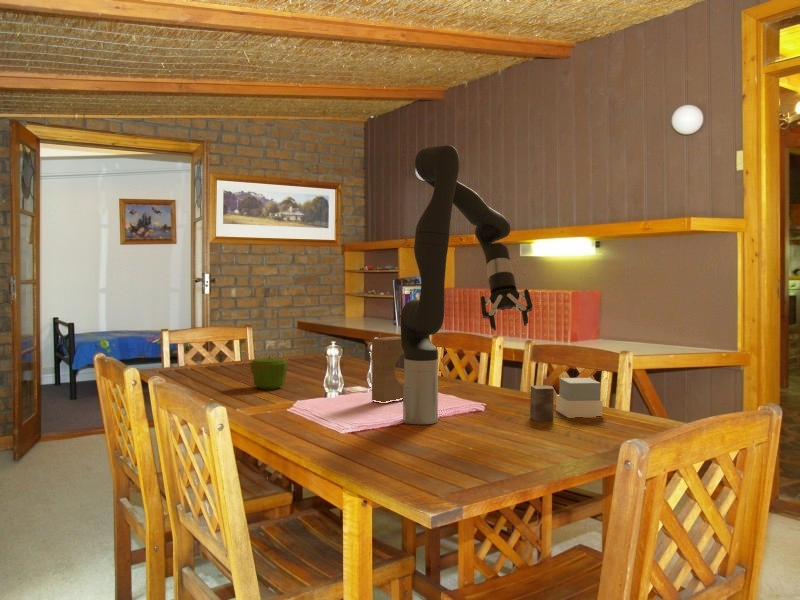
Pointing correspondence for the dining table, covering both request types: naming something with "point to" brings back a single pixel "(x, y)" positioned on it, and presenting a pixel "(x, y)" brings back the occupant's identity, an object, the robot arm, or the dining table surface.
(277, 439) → the dining table surface
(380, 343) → the decorative block
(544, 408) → the oak pillar
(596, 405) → the tower base
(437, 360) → the robot arm
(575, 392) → the tower top
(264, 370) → the apple
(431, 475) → the dining table surface
